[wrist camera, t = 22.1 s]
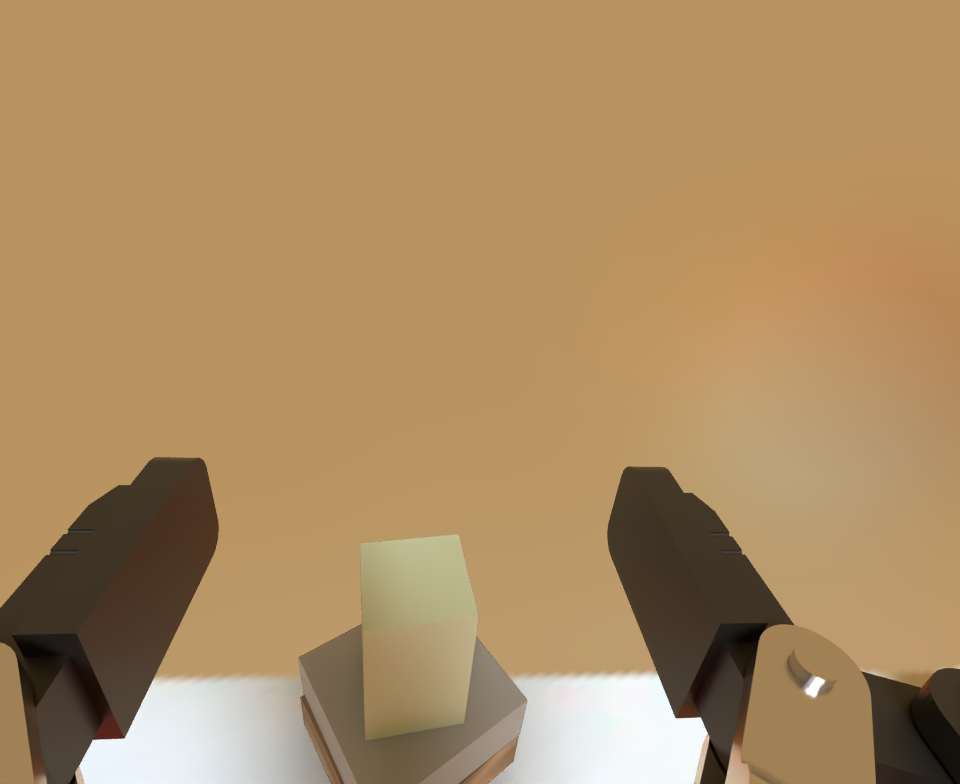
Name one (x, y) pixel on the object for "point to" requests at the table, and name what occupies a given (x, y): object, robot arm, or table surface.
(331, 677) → the tower top block
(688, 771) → the table surface
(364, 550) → the sage block
